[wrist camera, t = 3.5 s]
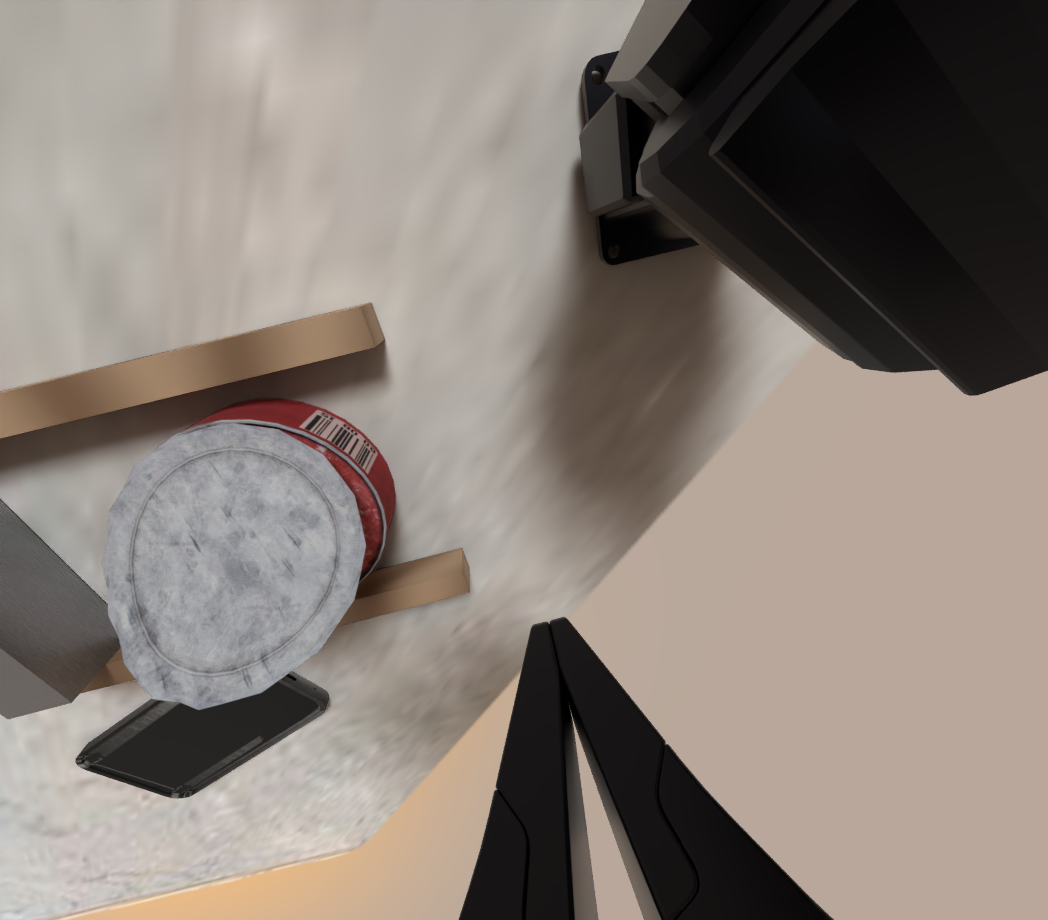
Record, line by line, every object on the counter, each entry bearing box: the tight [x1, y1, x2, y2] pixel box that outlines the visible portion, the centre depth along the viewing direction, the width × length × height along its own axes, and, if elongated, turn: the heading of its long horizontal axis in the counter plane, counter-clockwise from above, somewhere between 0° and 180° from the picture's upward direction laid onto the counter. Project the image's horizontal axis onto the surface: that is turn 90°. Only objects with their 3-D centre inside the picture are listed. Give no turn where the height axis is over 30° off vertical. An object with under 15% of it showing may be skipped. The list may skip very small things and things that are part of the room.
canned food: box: [102, 398, 396, 710], centre depth 17 cm, size 11×10×10 cm
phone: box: [75, 671, 329, 798], centre depth 26 cm, size 8×1×15 cm
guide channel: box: [0, 303, 470, 693], centre depth 19 cm, size 22×15×2 cm
